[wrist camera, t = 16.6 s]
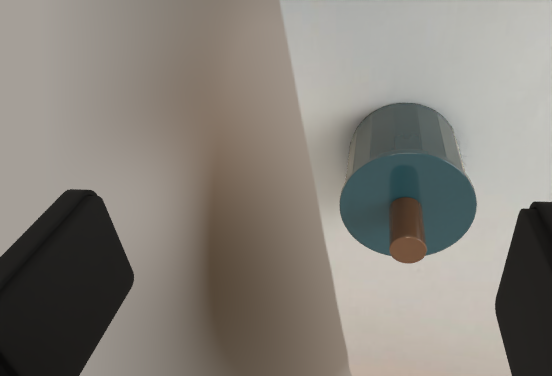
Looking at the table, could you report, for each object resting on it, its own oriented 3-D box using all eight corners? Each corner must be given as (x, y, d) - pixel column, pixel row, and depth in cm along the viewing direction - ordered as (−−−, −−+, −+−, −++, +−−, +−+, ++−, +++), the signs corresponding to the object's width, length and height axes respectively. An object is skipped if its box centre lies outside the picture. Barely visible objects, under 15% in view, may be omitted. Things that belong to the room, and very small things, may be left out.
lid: (342, 244, 37) (336, 295, 33) (338, 144, 32) (330, 188, 27) (465, 251, 35) (476, 306, 30) (483, 144, 30) (501, 192, 25)
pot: (351, 189, 43) (345, 246, 37) (349, 103, 38) (342, 151, 31) (450, 192, 41) (462, 252, 34) (462, 101, 36) (479, 152, 29)
